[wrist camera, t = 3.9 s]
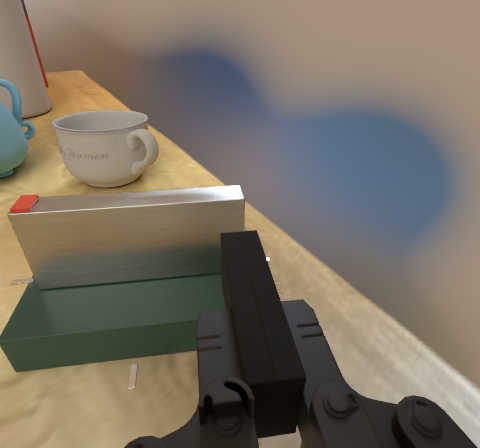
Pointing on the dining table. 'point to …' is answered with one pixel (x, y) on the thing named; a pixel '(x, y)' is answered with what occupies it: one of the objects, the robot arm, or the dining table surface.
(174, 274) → the red-tipped metal bar
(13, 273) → the dining table surface
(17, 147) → the decorative pot
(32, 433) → the dining table surface
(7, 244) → the dining table surface
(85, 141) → the teacup
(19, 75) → the cylinder vase
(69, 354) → the green block
